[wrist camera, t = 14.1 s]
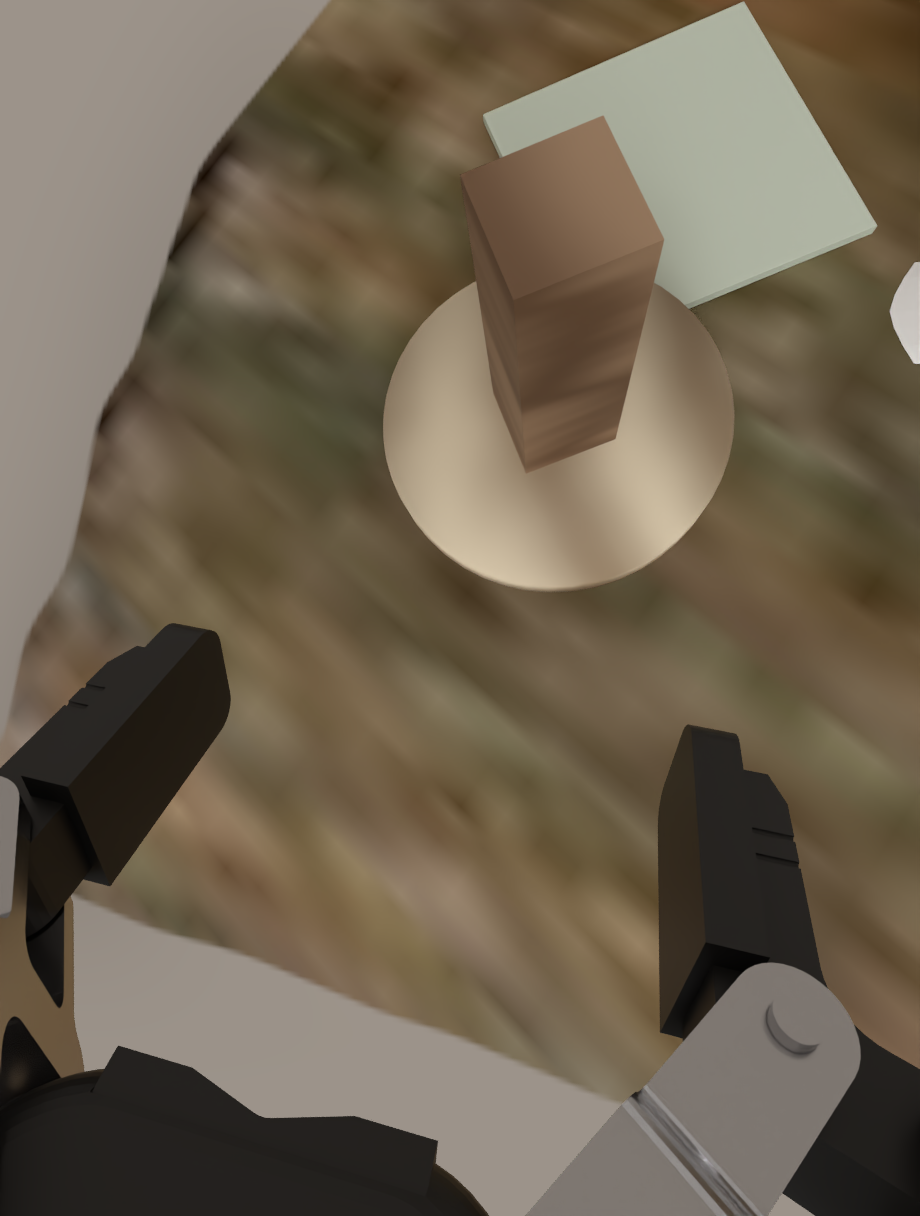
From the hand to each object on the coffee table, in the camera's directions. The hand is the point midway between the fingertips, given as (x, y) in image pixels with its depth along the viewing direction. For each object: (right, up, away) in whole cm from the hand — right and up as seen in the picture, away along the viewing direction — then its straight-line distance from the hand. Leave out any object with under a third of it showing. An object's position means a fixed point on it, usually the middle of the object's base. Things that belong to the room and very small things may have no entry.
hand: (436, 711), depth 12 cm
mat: (+11, +23, +22) cm, 34 cm away
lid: (+4, +9, +15) cm, 18 cm away
